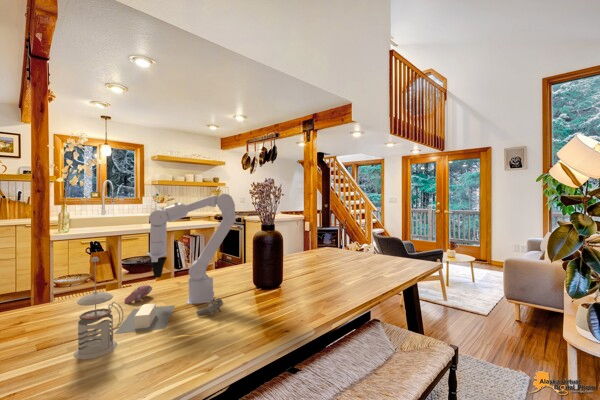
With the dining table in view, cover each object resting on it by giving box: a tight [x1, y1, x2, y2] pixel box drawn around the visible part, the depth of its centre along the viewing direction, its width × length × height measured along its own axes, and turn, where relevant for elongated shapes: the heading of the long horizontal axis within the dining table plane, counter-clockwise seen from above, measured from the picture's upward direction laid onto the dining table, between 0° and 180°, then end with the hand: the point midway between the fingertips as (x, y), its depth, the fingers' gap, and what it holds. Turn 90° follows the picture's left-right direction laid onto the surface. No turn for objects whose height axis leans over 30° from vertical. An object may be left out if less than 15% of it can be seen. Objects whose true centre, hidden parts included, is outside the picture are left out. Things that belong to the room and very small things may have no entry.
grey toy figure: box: [196, 297, 224, 318], centre depth 102 cm, size 10×6×9 cm
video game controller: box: [124, 284, 153, 304], centre depth 117 cm, size 10×5×7 cm, turn 169°
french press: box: [73, 256, 124, 360], centre depth 79 cm, size 10×12×25 cm
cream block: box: [135, 303, 157, 329], centre depth 96 cm, size 4×4×10 cm
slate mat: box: [113, 304, 176, 335], centre depth 99 cm, size 14×20×1 cm
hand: (157, 277), depth 113 cm, fingers closed
